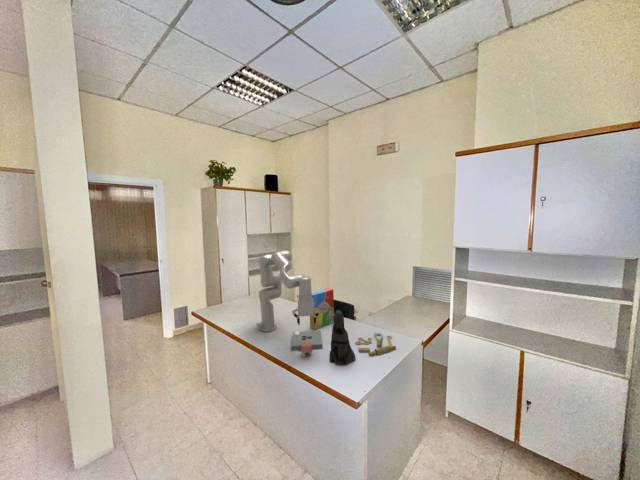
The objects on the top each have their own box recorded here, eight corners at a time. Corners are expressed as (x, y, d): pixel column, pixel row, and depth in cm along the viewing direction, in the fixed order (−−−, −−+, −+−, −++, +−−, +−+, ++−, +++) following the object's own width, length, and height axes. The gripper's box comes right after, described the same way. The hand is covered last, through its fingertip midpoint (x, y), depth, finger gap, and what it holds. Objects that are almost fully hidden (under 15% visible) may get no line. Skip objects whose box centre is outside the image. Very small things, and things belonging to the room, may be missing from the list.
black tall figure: (339, 368, 141) (337, 316, 138) (324, 358, 152) (322, 309, 150) (357, 359, 149) (356, 310, 146) (341, 350, 160) (340, 304, 158)
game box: (314, 330, 190) (312, 295, 187) (309, 328, 194) (308, 293, 191) (334, 322, 203) (333, 289, 200) (330, 320, 207) (329, 287, 204)
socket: (291, 350, 162) (291, 344, 162) (293, 335, 182) (292, 330, 182) (322, 348, 163) (322, 343, 163) (320, 334, 183) (320, 329, 183)
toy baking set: (377, 330, 187) (377, 325, 187) (407, 343, 167) (407, 338, 167) (345, 345, 167) (345, 340, 167) (375, 362, 147) (375, 356, 147)
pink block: (302, 357, 154) (301, 346, 153) (302, 352, 160) (301, 341, 159) (311, 357, 154) (311, 346, 153) (311, 351, 160) (311, 341, 159)
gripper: (290, 299, 151) (292, 327, 153) (319, 297, 152) (321, 325, 153) (291, 295, 159) (293, 322, 160) (319, 294, 159) (320, 320, 161)
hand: (306, 323), depth 157 cm, fingers open, 9 cm apart
